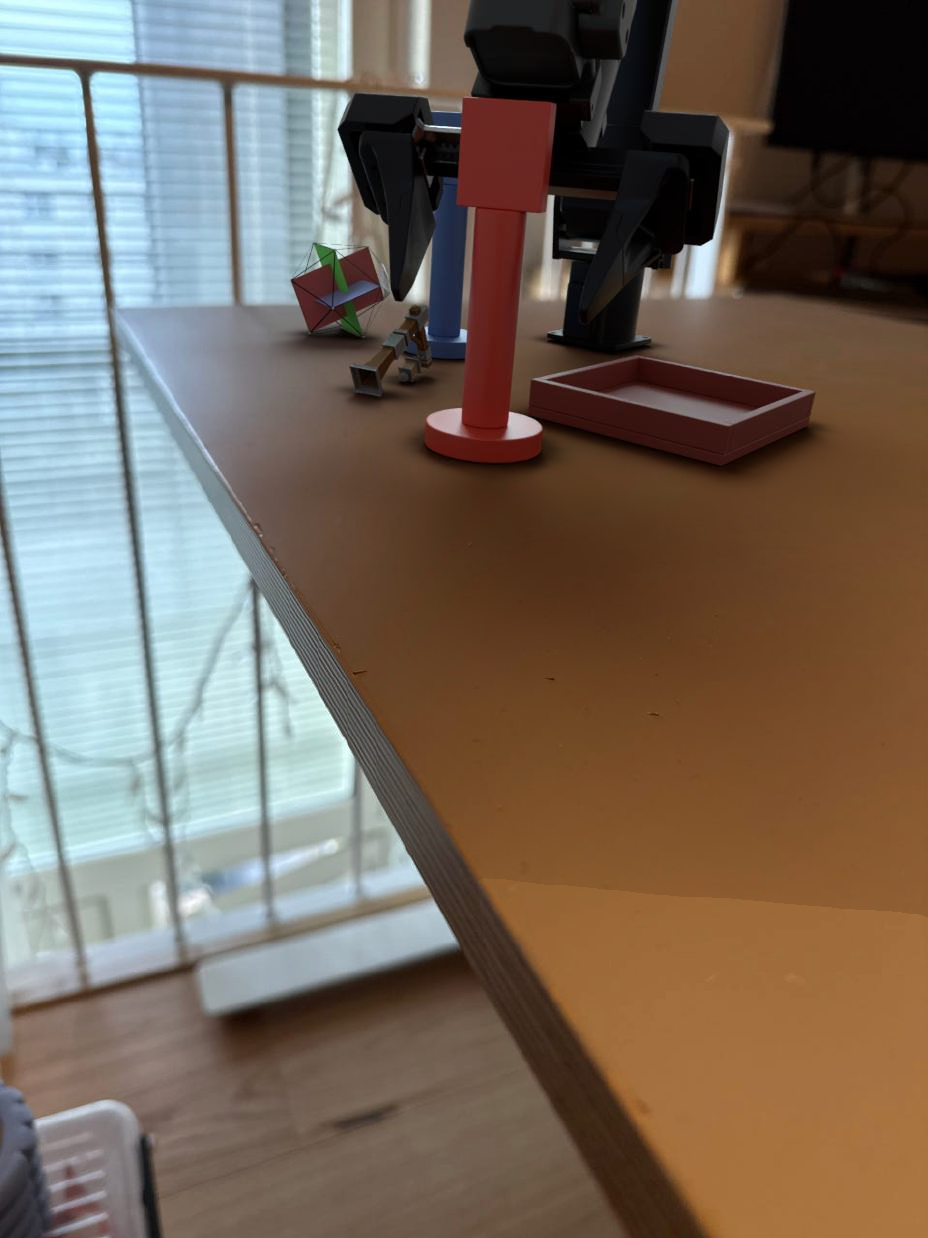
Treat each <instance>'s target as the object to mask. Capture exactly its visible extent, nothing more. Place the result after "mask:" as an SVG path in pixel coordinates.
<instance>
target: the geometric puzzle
mask: <svg viewBox="0 0 928 1238" xmlns="http://www.w3.org/2000/svg"><path fill="white" fill-rule="evenodd" d="M332 245H335V246H341V244H338V243H337V244H336V243H332ZM346 246H349V247H347V248H345V250H350V249H351V250H353V247H355V249H359V250H357V251H355V252H352V253H350V254H347V255H345V256H344V255H343V254H342V253H340V252H339V250H340V251H341V250H343V248H332V247H328V246H326V242H325V243H323V242H315V241H312V244H311V246H310V248H309V249H308V251H310V253H309V256H308V259H307V264H306V268H305V269H304V270H303V271H302V272H300V273H299V274H297V275H295V274H296V272H298V269H299V268H300V266H301V265H302V262H303V261H304V259H305V258H306V256H307V254H308V253H306V254H305V256H304V257H303V259H302V261H301V263H300V264H299V266H298V267H297V269H296V271H295V272H294V274H293V275H292V277H291V278H289V282H290V283H291V285H292V288H293V291H294V294H295V296H296V299H297V302H298V305H299V308H300V310H301V313H302V316H303V318H304V322H305V323H306V327H307V329H308V334H309V335H311V334H317V335H322V333H320V332H324V331H329V330H334V329H338V328H339V329H340V328H344V329H346V330H348V331H350V332H352V333H354V334H356V335H357V336H358V337H359V338H360V337H361V338H365V337H366V336H365V335H366V334H367V332H368V329H369V328H368V327H369V326H371V324H372V322H373V321H374V318H375V317H373V318H372V321H371V317H372V315H373V311H374V309H375V306H376V305H378V304H383V302H384V301H385V300H386V298H388V297H389V296H390V295H391V290H390V288H391V287H390V285H389V283H388V282H390V276H389V273H388V270H387V268H386V267H385V264H384V263H382V262H381V260H380V259H379V258H378V257H377V255H376V254H375V253H374V252H373V251H372V249H371V248H370V246H369V245H366V246H365V245H361V246H355V245H351V244H346ZM313 248H315V251H316V254H317V257H318V260H317V261H316V262H314V263H313V264H312V265H310V266H309V262H310V259H311V256H312V251H313ZM337 253H338V254H339V255H340V256H341V257H340V258H339V257H338V254H337ZM372 255H373V256H372ZM373 257H374V258H375V261H376V262H377V263H378V265H379V266H380V267H379V268H380V279H379V275H378V273H377V269H376V266H375V264H374V261H373ZM318 263H320V266H319V267H318V268H315V269H313V270H311V271H308V272H307V270H309V269H310V268H312V267H313V266H315V265H317V264H318ZM308 266H309V267H308ZM303 273H304V274H303ZM387 281H388V282H387ZM366 308H367V309H366ZM380 308H381V306H379V308H378V309H377V311H376V313H375V315H377V313H378V312H379V309H380ZM364 309H366V310H364ZM371 309H372V311H371V312H370V317H369V319H368V322H367V325H366V327H365V330H364V333H363V329H362V327H361V324H360V321H359V318H358V317H360V316H361V315H363V314H364V313H366V312H367V311H369V310H371ZM362 310H364V311H363V312H361V313H359V314H357V312H359V311H362ZM338 321H339V322H338ZM370 321H371V322H370ZM333 323H336V324H337V325H339V326H334V327H329V328H324V327H327V326H329V325H332V324H333ZM369 324H370V325H369ZM322 328H324V329H322ZM328 335H332V336H337V334H335V333H334V334H333V333H328ZM343 336H344V337H345V336H347V337H352V335H349V334H345V335H344V334H343Z"/></svg>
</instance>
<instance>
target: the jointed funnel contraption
mask: <svg viewBox="0 0 928 1238" xmlns="http://www.w3.org/2000/svg"><path fill="white" fill-rule="evenodd" d="M404 319H405V320H404V321H403V322H402V323H401V325H400V326H399V327H398V328H393V330H392V333H389V335H388V337H387V338H386V340H385V341H384V342H382V343H381V348H380V350H379V351H378V352H377V353H376V354H374V355H373V356H372V357H371V358H370V359H368V360H367V361H366V362H365V363H364V364H358V363H352V365H349V370H350V375H351V379H352V383H353V387H354V391H355V392H356V393H360V394H366V395H370V396H376V397H382V394H383V393H384V388H383V384H382V380H383V379H384V377H385V375H386V373H387V372H388V370H389V368H390V366H391V365H392V364H393V362H394V361H398V360H399V359H400V356H402V354H403V353H404V352H406V351H405V350H407V349H406V347H409V345H410V344H411V343H410V339H411V340H412V341H413V342H414V343H416V345H417V349H416V353H417V355H415V356H414V355H412V357H409V356H405V357H404V363H403V364H401V365H400V366H397V369H398V379H399V381H400V382H403V383H405V382H412V383H414V379H415V377H416V376H417V375H418V374H420V375H421V374H422V373H423V371H422V368H424V369H430V368H431V366H432V365H433V362H432V358H431V357H430V356H431V355H432V354H431V349H430V346H428V342H427V336H426V331H425V327H426V326H425V325H426V323H428V321H429V320H430V319H429V305H427V304H425V303H423V304H422V303H421V304H420V305H419V304H413V305H411V306H410V307H409V309H408V313H407V314H406V315H404ZM414 335H415V336H414Z"/></svg>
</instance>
